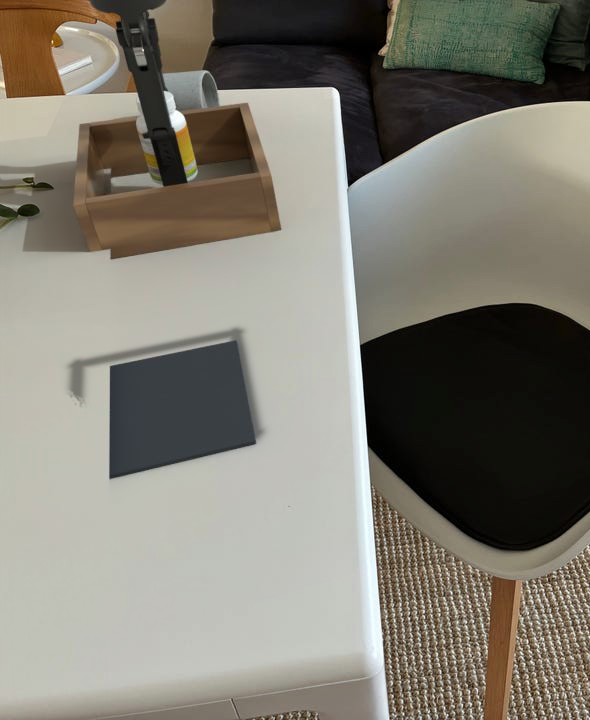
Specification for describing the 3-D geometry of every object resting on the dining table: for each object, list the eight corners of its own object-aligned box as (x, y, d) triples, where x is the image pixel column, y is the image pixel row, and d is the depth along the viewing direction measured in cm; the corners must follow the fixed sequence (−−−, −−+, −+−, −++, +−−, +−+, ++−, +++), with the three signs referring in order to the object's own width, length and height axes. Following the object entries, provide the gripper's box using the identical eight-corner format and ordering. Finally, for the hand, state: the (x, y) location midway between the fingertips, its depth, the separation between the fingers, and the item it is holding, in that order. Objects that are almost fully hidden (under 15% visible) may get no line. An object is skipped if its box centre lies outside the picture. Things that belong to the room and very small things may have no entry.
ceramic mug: (168, 114, 115) (154, 62, 110) (224, 114, 115) (212, 62, 110) (147, 147, 107) (130, 93, 102) (207, 147, 107) (193, 93, 102)
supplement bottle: (199, 163, 96) (181, 86, 89) (197, 184, 92) (178, 105, 85) (153, 167, 95) (131, 89, 88) (149, 189, 91) (126, 108, 85)
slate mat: (81, 375, 71) (79, 371, 71) (237, 343, 75) (236, 339, 75) (76, 486, 61) (74, 483, 61) (256, 443, 65) (255, 440, 65)
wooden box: (97, 175, 100) (79, 123, 96) (257, 152, 106) (247, 102, 101) (94, 262, 85) (72, 205, 81) (281, 230, 91) (271, 175, 86)
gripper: (163, -14, 72) (214, 206, 88) (155, -62, 85) (200, 137, 101) (76, -7, 70) (143, 217, 86) (81, -57, 83) (139, 145, 99)
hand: (174, 173), depth 93 cm, fingers closed on supplement bottle, 5 cm apart
